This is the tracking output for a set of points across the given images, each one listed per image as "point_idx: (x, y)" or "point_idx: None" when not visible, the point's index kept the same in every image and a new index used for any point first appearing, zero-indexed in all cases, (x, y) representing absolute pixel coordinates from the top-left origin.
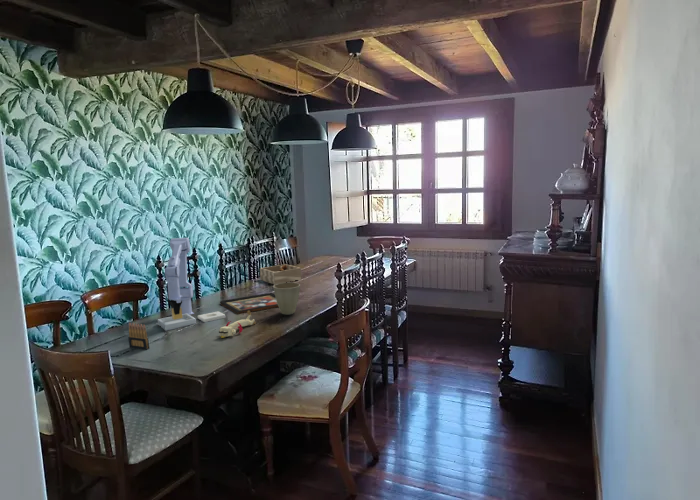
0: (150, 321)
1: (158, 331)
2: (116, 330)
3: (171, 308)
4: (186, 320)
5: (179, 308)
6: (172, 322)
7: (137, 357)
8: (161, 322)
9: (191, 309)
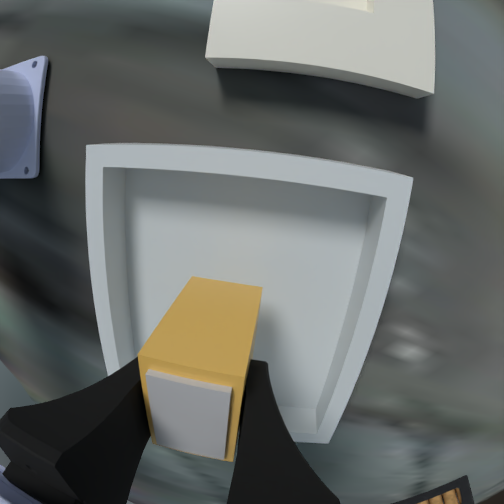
0: (43, 358)
1: None
2: None
3: (156, 444)
4: (381, 289)
5: (280, 423)
6: None
7: (480, 489)
8: None
9: (2, 72)
